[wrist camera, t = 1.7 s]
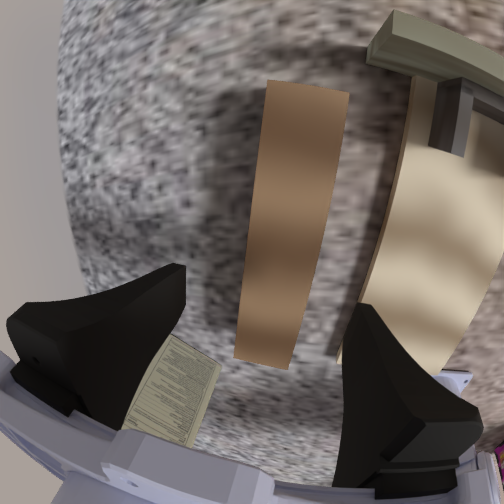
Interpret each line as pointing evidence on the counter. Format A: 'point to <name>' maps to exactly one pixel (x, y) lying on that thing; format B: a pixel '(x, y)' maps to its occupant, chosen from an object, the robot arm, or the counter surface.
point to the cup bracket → (439, 189)
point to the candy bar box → (500, 460)
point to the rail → (287, 216)
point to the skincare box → (173, 393)
